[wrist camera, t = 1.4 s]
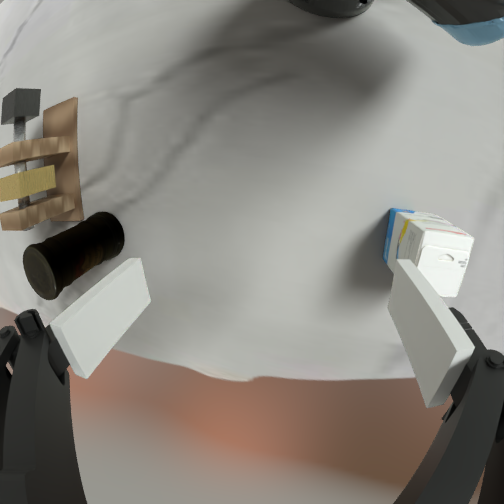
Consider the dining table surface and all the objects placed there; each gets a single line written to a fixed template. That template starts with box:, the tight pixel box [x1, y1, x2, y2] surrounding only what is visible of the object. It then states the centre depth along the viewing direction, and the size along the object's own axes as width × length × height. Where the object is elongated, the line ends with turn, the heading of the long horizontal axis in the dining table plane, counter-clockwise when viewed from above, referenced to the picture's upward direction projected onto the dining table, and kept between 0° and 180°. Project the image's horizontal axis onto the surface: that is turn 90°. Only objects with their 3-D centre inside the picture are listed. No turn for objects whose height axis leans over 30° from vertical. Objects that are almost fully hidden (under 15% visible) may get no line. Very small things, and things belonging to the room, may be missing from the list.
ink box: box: [383, 208, 474, 297], centre depth 32 cm, size 9×8×12 cm
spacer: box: [0, 165, 56, 202], centre depth 33 cm, size 4×8×8 cm, turn 90°
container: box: [23, 212, 124, 300], centre depth 37 cm, size 9×9×18 cm
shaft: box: [1, 88, 41, 231], centre depth 30 cm, size 24×5×6 cm, turn 0°
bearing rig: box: [0, 97, 84, 231], centre depth 34 cm, size 24×10×15 cm, turn 0°
